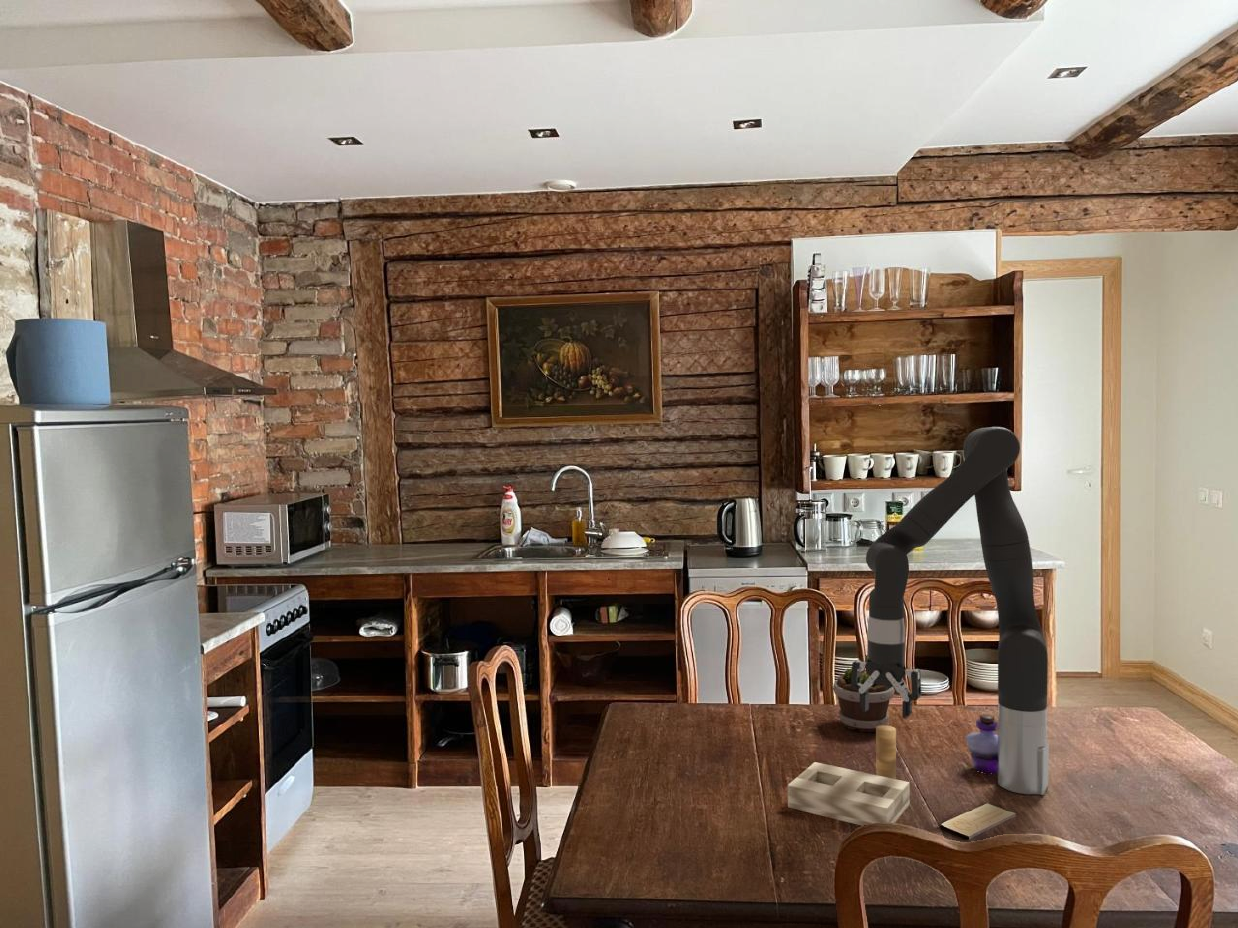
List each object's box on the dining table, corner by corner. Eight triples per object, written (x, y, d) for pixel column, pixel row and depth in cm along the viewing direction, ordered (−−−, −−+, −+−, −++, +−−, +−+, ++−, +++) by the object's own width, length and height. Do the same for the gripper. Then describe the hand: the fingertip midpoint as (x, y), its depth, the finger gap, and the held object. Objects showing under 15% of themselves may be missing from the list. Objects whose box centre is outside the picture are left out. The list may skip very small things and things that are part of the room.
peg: (898, 783, 190) (898, 727, 189) (892, 789, 187) (892, 733, 186) (879, 778, 192) (879, 724, 192) (873, 785, 189) (873, 729, 188)
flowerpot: (853, 739, 216) (853, 657, 214) (822, 718, 230) (822, 641, 229) (906, 732, 219) (906, 651, 218) (873, 712, 234) (872, 637, 233)
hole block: (909, 804, 180) (909, 782, 180) (887, 831, 168) (887, 808, 168) (814, 782, 191) (814, 761, 191) (787, 806, 180) (787, 784, 179)
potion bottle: (1010, 779, 191) (1010, 724, 190) (966, 775, 193) (966, 720, 193) (1006, 764, 199) (1006, 711, 198) (964, 760, 202) (965, 707, 201)
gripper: (925, 638, 187) (924, 715, 188) (859, 629, 195) (858, 702, 196) (915, 646, 181) (913, 725, 182) (846, 636, 189) (846, 712, 190)
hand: (885, 713), depth 189 cm, fingers open, 8 cm apart
